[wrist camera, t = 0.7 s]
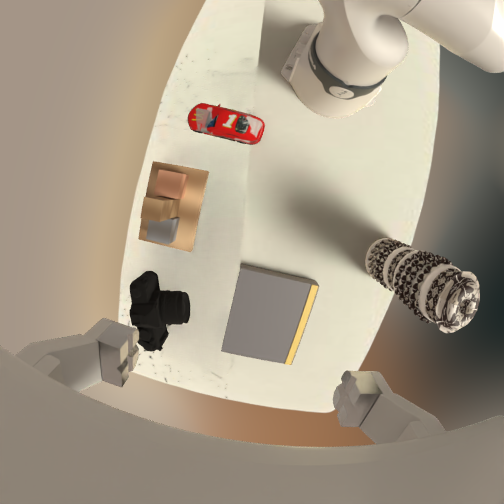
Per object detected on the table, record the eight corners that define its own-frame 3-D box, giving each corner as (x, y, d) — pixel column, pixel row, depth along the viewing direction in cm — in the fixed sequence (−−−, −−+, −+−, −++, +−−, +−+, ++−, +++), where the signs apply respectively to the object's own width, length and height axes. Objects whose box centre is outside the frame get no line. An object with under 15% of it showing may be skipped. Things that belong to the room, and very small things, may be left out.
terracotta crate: (167, 171, 43) (159, 169, 39) (188, 175, 43) (182, 173, 39) (162, 194, 44) (153, 194, 40) (183, 198, 44) (177, 199, 40)
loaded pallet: (157, 162, 45) (131, 155, 34) (210, 172, 46) (196, 165, 34) (143, 236, 48) (115, 249, 37) (193, 249, 49) (176, 265, 37)
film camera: (195, 337, 52) (185, 362, 44) (151, 336, 52) (136, 359, 44) (186, 265, 49) (172, 280, 40) (139, 267, 49) (118, 281, 40)
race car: (185, 130, 43) (179, 125, 39) (195, 103, 42) (190, 96, 38) (257, 150, 44) (258, 146, 40) (266, 122, 43) (268, 116, 39)
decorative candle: (356, 276, 49) (426, 339, 25) (371, 229, 47) (458, 262, 23) (393, 286, 49) (469, 345, 25) (408, 243, 48) (496, 279, 23)
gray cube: (158, 212, 45) (150, 214, 41) (179, 217, 45) (173, 219, 41) (154, 235, 46) (146, 239, 42) (175, 240, 46) (168, 244, 42)
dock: (241, 263, 49) (240, 268, 46) (315, 280, 49) (319, 286, 46) (222, 343, 52) (221, 351, 49) (289, 356, 53) (291, 365, 50)
